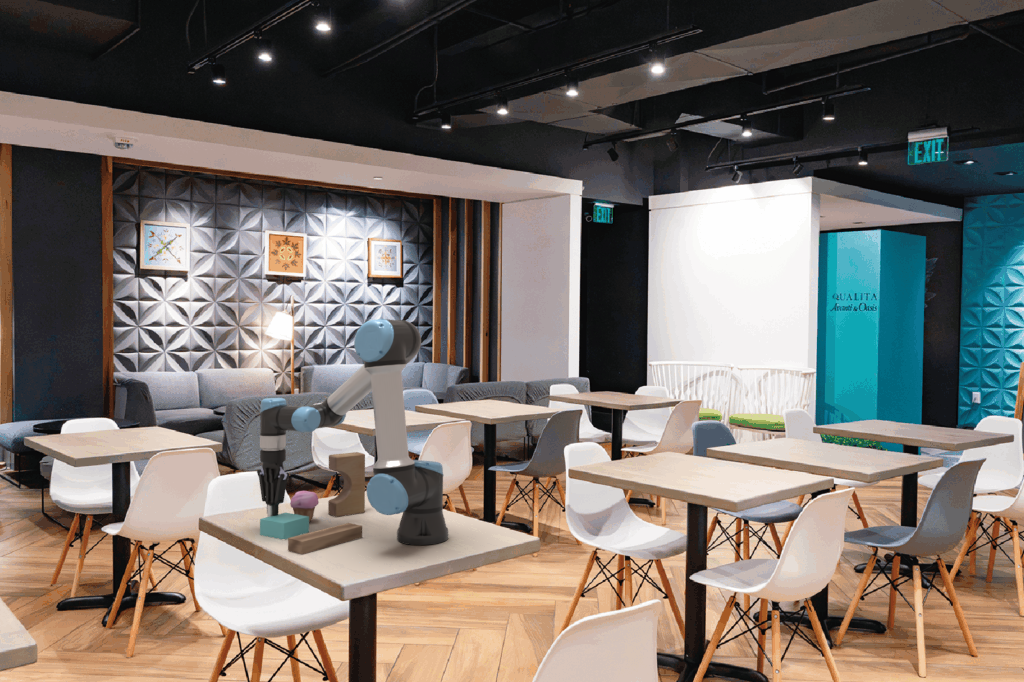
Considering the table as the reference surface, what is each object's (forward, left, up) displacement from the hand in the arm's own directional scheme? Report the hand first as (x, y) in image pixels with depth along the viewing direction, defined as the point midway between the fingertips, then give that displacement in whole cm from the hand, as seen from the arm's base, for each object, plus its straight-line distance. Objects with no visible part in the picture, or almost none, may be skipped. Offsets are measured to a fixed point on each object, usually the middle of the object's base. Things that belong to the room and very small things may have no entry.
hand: (272, 525), depth 232 cm
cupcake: (+1, -13, -2) cm, 13 cm away
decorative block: (-1, -29, -2) cm, 29 cm away
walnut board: (-25, 0, -2) cm, 25 cm away
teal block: (-6, 0, -2) cm, 6 cm away
